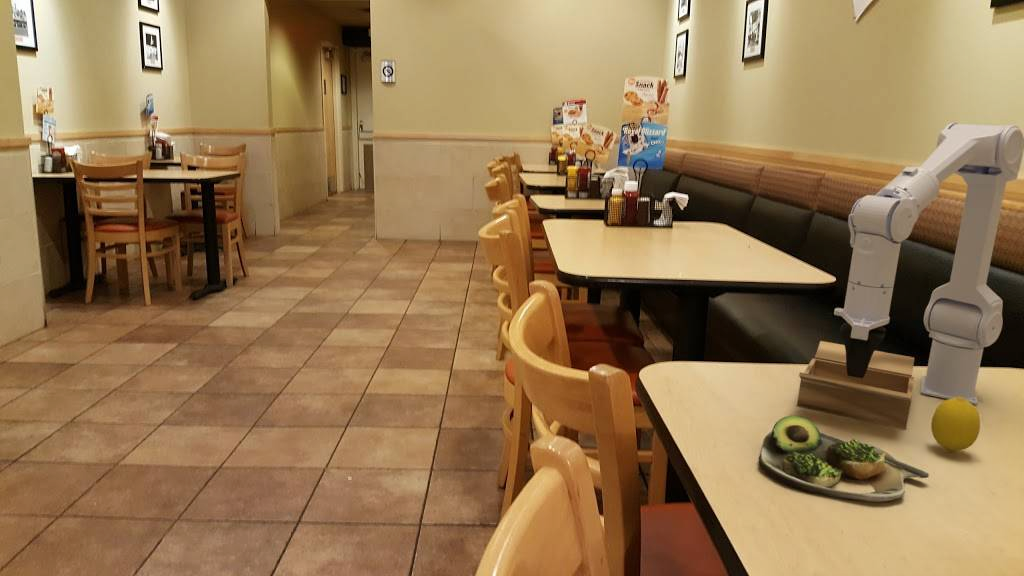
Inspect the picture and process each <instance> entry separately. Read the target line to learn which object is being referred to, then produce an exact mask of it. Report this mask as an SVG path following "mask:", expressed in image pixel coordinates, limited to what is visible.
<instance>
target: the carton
mask: <svg viewBox="0 0 1024 576" xmlns="http://www.w3.org/2000/svg"><path fill="white" fill-rule="evenodd" d="M803 373H806V374H811V375H816V376H821V377H826V378H831V379H836V380H841V381H846V382H851V383H856V384H861V385H866V386H871V387H876V388H881V389H886V390H891V391H896V392H901V393H906V394H911V396H910V400H909V403H905V402H900V401H895V400H890V399H885V398H881V397H876V396H871V395H866V394H861V393H856V392H851V391H846V390H842V389H837V388H832V387H827V386H822V385H817V384H812V383H807V382H802V380H801V379H800V383H799V389H798V394H797V395H798V397H797V404H796V406H797V407H802V408H805V409H809V410H814V411H819V412H822V413H823V412H824V413H828V414H833V415H837V416H841V417H846V418H851V419H855V420H859V421H865V422H869V423H872V424H878V425H882V426H886V427H892V428H895V429H900V430H905V431H906V430H907V426H908V421H909V420H908V419H909V414H910V411H911V405H912V404H911V403H912V396H913V387H914V377H913V376H912V377H910V376H905V375H899V374H894V373H889V372H884V371H878V370H873V369H868V368H867V371H866V373H865V375H864V377H863V378H857V377H852V376H848V375H847V369H846V364H841V363H836V362H831V361H826V360H820V359H815V357H814V358H812V359H811V360H810V361H809V363H808V366H807V367H806V369H805V370H804V372H803Z"/></svg>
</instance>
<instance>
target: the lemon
mask: <svg viewBox="0 0 1024 576" xmlns="http://www.w3.org/2000/svg"><path fill="white" fill-rule="evenodd" d="M930 425H931V427H930V428H931V434H932V436H933V438H934V440H935V441H936V443H938V444H939V445H940V446H941V447H943V448H944V449H945V450H946V452H947V453H950V454H954V453H955V452H958V451H963V450H966V449H969V448H970V447H971V446H972V445H973V444H974V443H975V442H976V441H977V440H978V437H979V434H980V430H981V420H980V414H979V412H978V409H976V407H975V406H974V404H971V403H969V402H968V401H966V400H965V399H964V398H963V397H957V398H953V399H946V400H944V401H943V402H941V403H940V404H939V405H938V406H937V408H936V409H935V411H934V413H933V416H932V418H931V424H930Z"/></svg>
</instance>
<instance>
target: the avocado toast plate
mask: <svg viewBox="0 0 1024 576" xmlns="http://www.w3.org/2000/svg"><path fill="white" fill-rule="evenodd" d="M772 427H773V428H772V430H771V431H770V432H769V433H768V434H766V435H765V437H763V438H764V439H763V442H762V447H761V450H760V451H761V452H760V454H759V457H758V464H759V466H760V467H761V468H762V470H763V471H764V472H765V474H767V476H769V477H770V478H772V479H773V480H775V481H777V482H779V483H781V484H783V485H784V486H785V485H786V486H788V487H792V488H794V489H797V490H801V491H804V492H808V493H813V494H820V495H824V496H829V497H835V498H840V499H846V500H855V501H862V502H870V503H882V502H883V503H884V502H888V501H892V500H896V499H900V498H902V497H904V495H905V492H906V491H905V484H904V481H905V479H907V478H919V479H927V478H929V476H930V474H929V473H928V472H926V471H924V470H922V469H919V468H916V467H914V466H912V465H909V464H907V463H904V462H902V461H899V460H896V458H895V457H894V456H893V455H891V454H890V453H888V452H886V451H885V450H883V449H881V448H880V447H877V446H874V445H873V444H869V443H865V442H864V443H863V442H861V441H859V440H857V439H855V438H853V439H851V440H848V439H844V438H843V439H842V438H838V437H834V436H832V435H827V434H825V433H823V432H820V430H819V428H818V427H817V425H815V424H814V423H813V422H812V421H811V420H810V419H807V418H805V417H802V416H799V415H788V416H784V417H782V418H781V419H778V421H776V422H775V424H774V426H772ZM841 481H843V482H845V481H846V482H851V481H852V482H855V483H856V482H857V483H860V484H865V483H866V484H868V485H870V486H871V487H872V488H873V490H874V491H872V492H861V493H860V492H859V493H858V492H851V491H843V490H838V489H834V488H831V487H833V486H835V485H836V484H837V483H840V482H841Z"/></svg>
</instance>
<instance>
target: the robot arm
mask: <svg viewBox="0 0 1024 576" xmlns="http://www.w3.org/2000/svg"><path fill="white" fill-rule="evenodd" d="M1023 134H1024V133H1023V131H1022V130H1021V128H1020V127H1019V126H1018V125H1016V124H1010V125H1000V124H999V125H998V124H997V125H996V124H995V125H994V124H993V125H992V124H973V123H972V124H971V123H968V124H967V123H958V122H951V123H950V122H949V123H948V124H946V126H945V127H944V128H943V129H942V130H941V131H939V134H938V137H937V141H936V148H935V149H934V150H933V151H932V152H931V154H930V155H929V156H927V158H925V160H924V161H923V162H922V163H921V164H920V165H919V166H905V168H904V169H902V171H901V172H900V173H899V174H898V175H896V176H895V177H894V178H893V179H892V180H890V182H888V183H887V184H886V185H885V186H884V187H882V189H880V190H879V191H878V192H877V193H876V194H875V195H872V194H871V195H870V194H867V195H865V196H863V197H861V198H859V199H857V201H855V203H854V204H853V206H852V208H851V211H850V214H848V217H847V218H848V219H847V222H848V228H849V229H848V230H849V231H850V238H849V244H850V248H853V249H852V255H851V261H850V267H849V268H850V269H849V274H848V280H847V287H846V293H845V300H844V307H843V308H841V307H836V308H834V312H833V314H834V315H835V316H837V317H838V316H839V317H842V319H844V321H846V322H843V324H842V325H840V328H839V331H840V335H841V338H842V340H843V345H845V350H846V369H847V375H848V376H852V377H857V378H863V377H864V375H865V373H866V371H867V368H868V365H869V363H870V360H871V357H872V355H873V353H874V351H876V349H877V348H878V346H879V344H880V343H881V342H882V341H883V340H884V338H885V335H886V332H887V328H886V327H884V326H885V325H888V324H889V323H890V319H891V317H890V316H889V315H890V310H891V305H892V304H891V302H892V298H893V297H892V296H893V293H894V286H895V281H896V274H897V267H898V262H899V256H900V249H901V245H902V242H904V241H905V240H906V239H908V238H909V237H910V235H911V233H912V231H913V229H914V226H915V224H916V222H918V219H919V217H920V216H919V215H920V213H921V212H922V211H923V210H924V209H926V208H927V206H928V205H930V204H931V203H933V201H934V200H935V199H937V197H938V196H939V194H940V184H941V183H943V182H944V181H946V180H947V179H948V178H950V177H951V176H952V175H953V174H955V175H958V176H959V177H961V178H962V179H963V180H964V182H965V183H966V185H967V188H966V195H965V199H964V204H963V205H964V206H963V210H962V215H961V221H960V227H959V232H958V237H957V242H956V247H955V252H954V258H953V263H952V270H951V274H950V280H949V281H948V282H947V283H945V284H942V285H940V286H938V287H936V288H935V289H934V290H932V293H931V295H930V299H929V302H928V305H927V306H926V308H925V311H924V315H923V324H924V327H925V329H926V331H927V332H929V334H928V337H929V338H932V342H931V347H930V352H929V357H928V363H927V368H926V374H925V375H922V376H921V384H920V386H921V387H920V393H921V394H922V395H926V396H931V397H936V398H941V399H946V400H948V399H953V398H957V397H963V398H964V399H965V400H966V401H968V402H969V403H971V404H972V405H978V403H979V402H978V395H977V387H976V385H977V381H978V377H979V373H980V366H981V363H982V362H981V361H982V357H983V353H984V348H987V347H990V346H991V345H992V344H994V343H995V342H996V341H997V340H998V338H999V336H1000V334H1001V332H1002V329H1003V324H1004V323H1003V319H1004V318H1003V306H1004V305H1003V302H1004V301H1003V300H1002V298H1001V297H1000V296H998V294H996V292H995V291H993V290H992V289H991V287H989V286H988V285H987V283H988V276H989V271H990V267H991V261H992V255H993V251H994V246H995V240H996V236H997V230H998V225H999V221H1000V215H1001V210H1002V207H1003V206H1002V205H1003V200H1004V195H1005V191H1006V186H1007V183H1009V182H1012V181H1014V180H1017V179H1018V175H1019V172H1020V169H1021V165H1022V160H1023V156H1024V135H1023Z"/></svg>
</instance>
